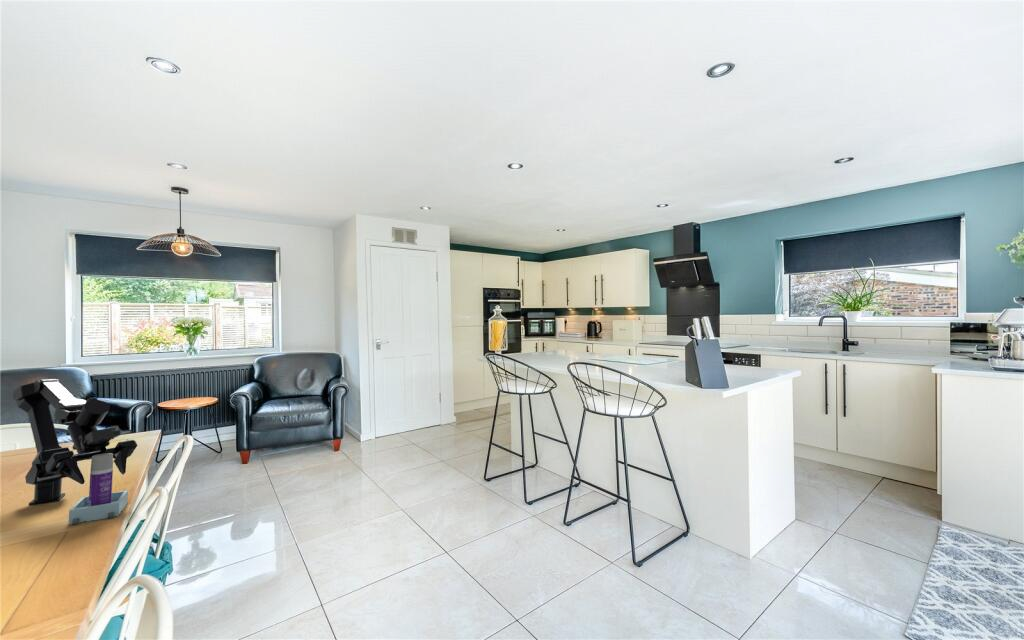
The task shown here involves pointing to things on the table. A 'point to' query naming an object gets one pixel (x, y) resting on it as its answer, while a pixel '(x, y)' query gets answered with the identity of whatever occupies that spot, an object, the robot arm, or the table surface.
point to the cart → (98, 508)
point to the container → (101, 479)
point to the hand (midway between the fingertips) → (104, 478)
